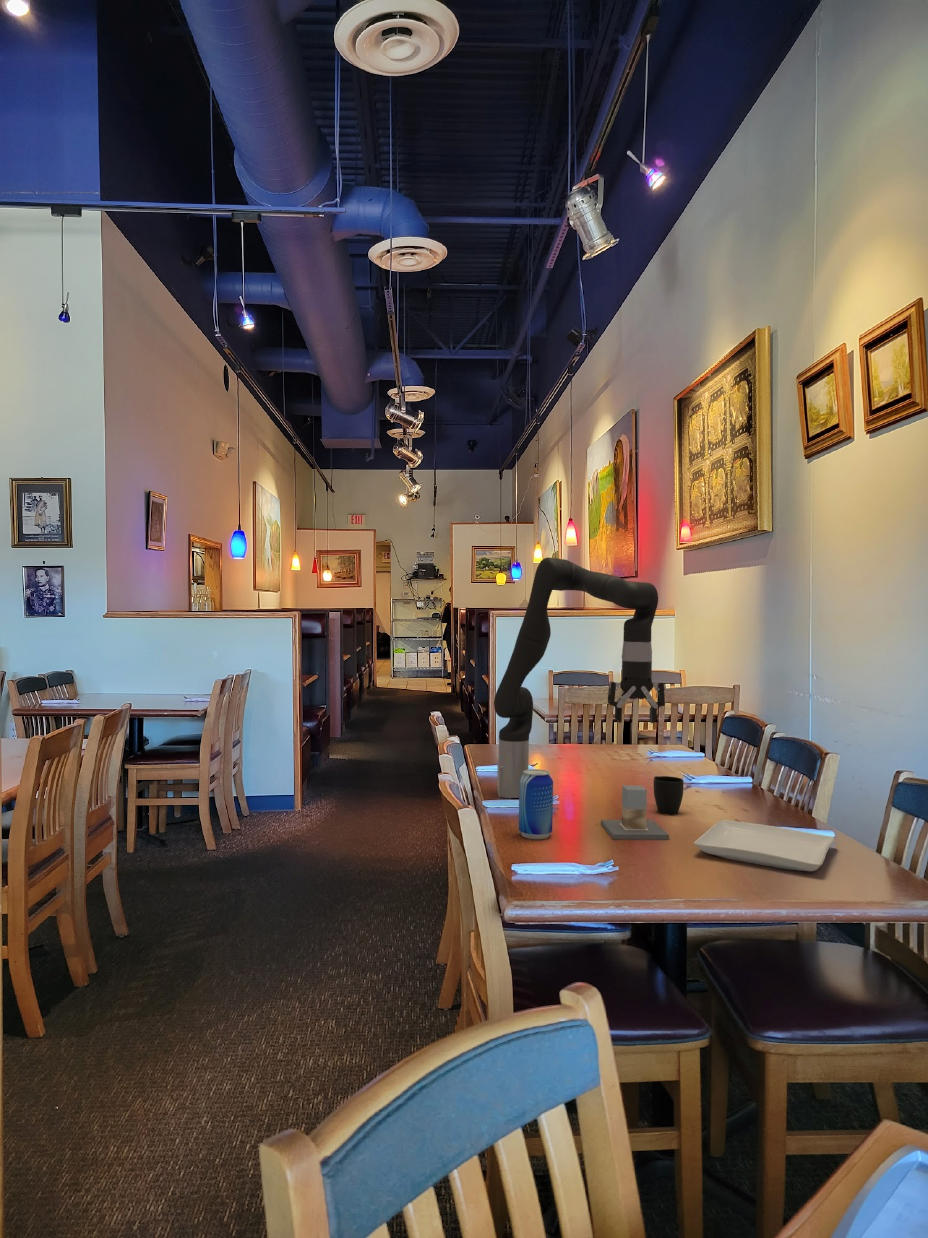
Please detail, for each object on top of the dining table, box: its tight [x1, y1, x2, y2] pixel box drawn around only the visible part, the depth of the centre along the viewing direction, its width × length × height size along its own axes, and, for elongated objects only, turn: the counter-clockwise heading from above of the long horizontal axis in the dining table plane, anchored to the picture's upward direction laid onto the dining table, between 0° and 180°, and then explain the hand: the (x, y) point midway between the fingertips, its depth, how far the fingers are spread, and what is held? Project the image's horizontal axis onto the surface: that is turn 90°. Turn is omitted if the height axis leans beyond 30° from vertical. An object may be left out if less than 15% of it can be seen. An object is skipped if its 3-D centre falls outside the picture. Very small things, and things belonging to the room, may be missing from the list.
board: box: [600, 819, 670, 841], centre depth 198 cm, size 14×14×1 cm
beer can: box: [518, 768, 554, 840], centre depth 192 cm, size 8×8×16 cm
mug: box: [653, 775, 685, 816], centre depth 220 cm, size 8×12×10 cm
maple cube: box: [621, 804, 647, 829], centre depth 198 cm, size 5×5×5 cm
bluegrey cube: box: [621, 785, 648, 811], centre depth 198 cm, size 5×5×5 cm
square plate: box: [693, 819, 836, 872], centre depth 182 cm, size 27×27×4 cm
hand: (635, 722), depth 198 cm, fingers open, 8 cm apart
